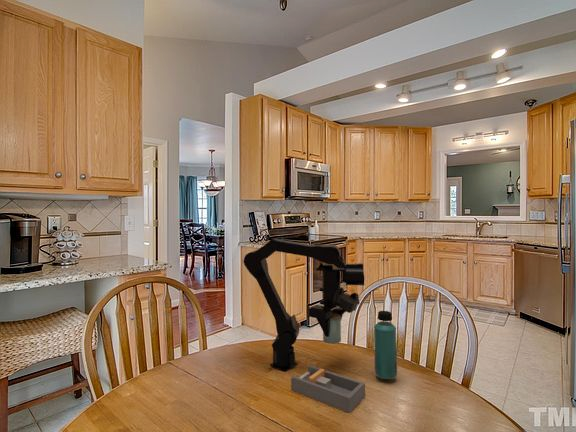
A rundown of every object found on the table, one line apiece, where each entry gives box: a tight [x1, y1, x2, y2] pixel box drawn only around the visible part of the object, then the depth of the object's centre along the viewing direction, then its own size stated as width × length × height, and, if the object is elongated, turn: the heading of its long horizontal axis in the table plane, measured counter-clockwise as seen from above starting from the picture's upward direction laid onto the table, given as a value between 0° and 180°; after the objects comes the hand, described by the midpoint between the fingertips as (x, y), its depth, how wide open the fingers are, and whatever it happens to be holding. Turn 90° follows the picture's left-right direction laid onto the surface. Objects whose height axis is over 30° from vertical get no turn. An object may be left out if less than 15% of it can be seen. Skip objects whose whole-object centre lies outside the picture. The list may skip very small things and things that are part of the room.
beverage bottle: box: [373, 310, 398, 380], centre depth 97 cm, size 6×7×20 cm
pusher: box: [309, 368, 331, 388], centre depth 91 cm, size 4×7×3 cm, turn 143°
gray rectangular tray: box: [290, 364, 366, 414], centre depth 90 cm, size 18×9×4 cm, turn 53°
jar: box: [322, 313, 342, 345], centre depth 104 cm, size 6×6×8 cm
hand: (331, 333), depth 104 cm, fingers closed on jar, 6 cm apart
